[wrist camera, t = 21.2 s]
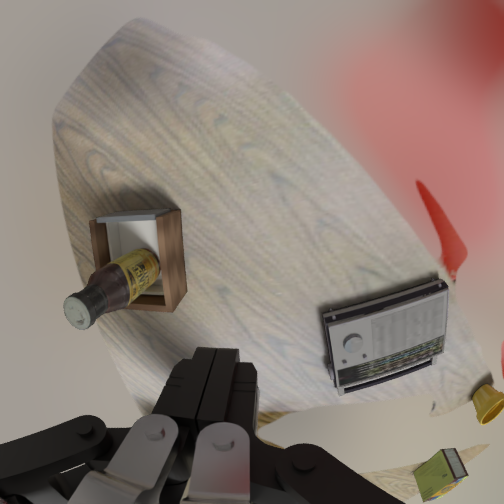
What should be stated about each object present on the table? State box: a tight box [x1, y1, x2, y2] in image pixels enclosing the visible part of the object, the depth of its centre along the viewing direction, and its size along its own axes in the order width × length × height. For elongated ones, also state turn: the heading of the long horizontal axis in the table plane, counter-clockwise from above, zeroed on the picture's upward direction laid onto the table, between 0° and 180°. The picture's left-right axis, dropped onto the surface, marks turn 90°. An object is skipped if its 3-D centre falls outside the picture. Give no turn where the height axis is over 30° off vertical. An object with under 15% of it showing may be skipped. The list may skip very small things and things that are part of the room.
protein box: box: [414, 448, 468, 502], centre depth 54 cm, size 10×15×16 cm
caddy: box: [89, 210, 187, 312], centre depth 42 cm, size 14×13×8 cm
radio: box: [322, 278, 449, 396], centre depth 45 cm, size 24×5×20 cm
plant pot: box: [472, 384, 504, 425], centre depth 47 cm, size 10×10×10 cm
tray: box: [96, 209, 171, 295], centre depth 41 cm, size 13×10×6 cm
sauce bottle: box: [64, 248, 161, 330], centre depth 35 cm, size 7×6×20 cm
